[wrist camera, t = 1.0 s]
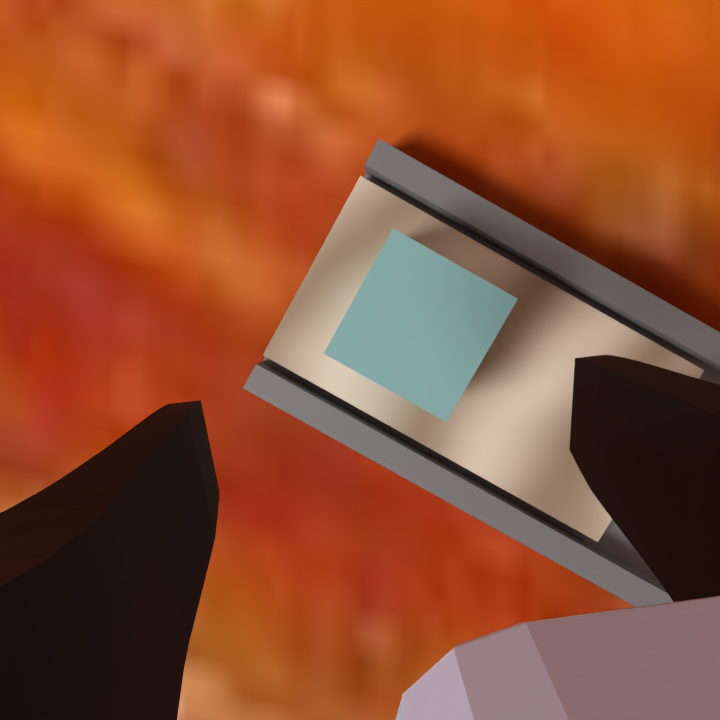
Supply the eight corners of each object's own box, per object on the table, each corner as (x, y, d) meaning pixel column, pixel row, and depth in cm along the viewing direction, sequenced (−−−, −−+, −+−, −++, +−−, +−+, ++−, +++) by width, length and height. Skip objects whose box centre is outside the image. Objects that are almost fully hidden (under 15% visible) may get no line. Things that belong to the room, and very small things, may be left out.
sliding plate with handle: (692, 368, 27) (771, 382, 22) (589, 533, 28) (641, 587, 22) (360, 180, 27) (357, 147, 21) (266, 353, 27) (240, 364, 22)
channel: (941, 472, 28) (994, 488, 26) (799, 685, 29) (838, 719, 27) (378, 153, 27) (378, 138, 25) (254, 381, 28) (243, 388, 26)
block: (490, 301, 26) (518, 298, 21) (432, 401, 26) (446, 422, 21) (389, 243, 26) (392, 228, 21) (333, 345, 26) (323, 353, 21)
